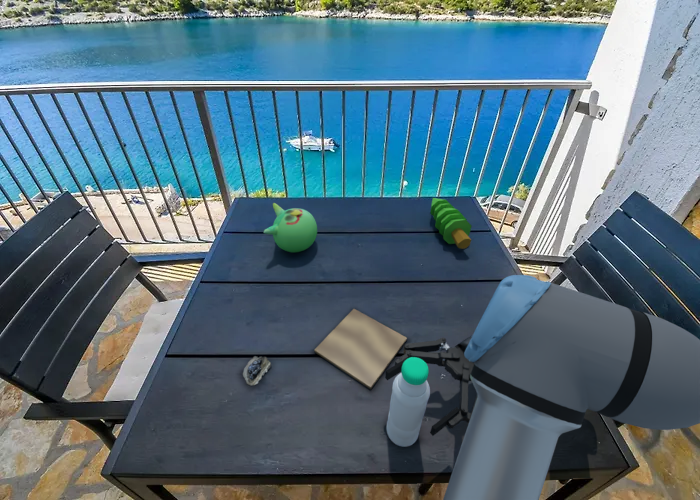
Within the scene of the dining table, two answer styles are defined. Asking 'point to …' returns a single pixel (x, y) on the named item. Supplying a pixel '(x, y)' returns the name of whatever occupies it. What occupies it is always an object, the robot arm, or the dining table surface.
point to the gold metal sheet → (361, 347)
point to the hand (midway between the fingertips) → (407, 401)
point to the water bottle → (408, 402)
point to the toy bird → (293, 229)
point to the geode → (255, 369)
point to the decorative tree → (451, 223)
